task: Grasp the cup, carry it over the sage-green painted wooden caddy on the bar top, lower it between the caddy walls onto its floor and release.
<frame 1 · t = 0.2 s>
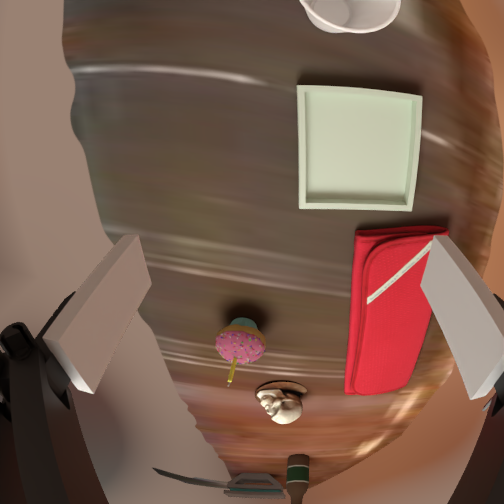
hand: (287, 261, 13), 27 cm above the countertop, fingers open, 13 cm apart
tray: (358, 147, 35), on the countertop
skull: (281, 392, 64), on the countertop
cup: (331, 12, 26), on the countertop
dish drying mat: (387, 323, 51), on the countertop
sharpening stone: (256, 475, 104), on the countertop
beer bottle: (298, 456, 87), on the countertop
cupcake: (243, 325, 53), on the countertop
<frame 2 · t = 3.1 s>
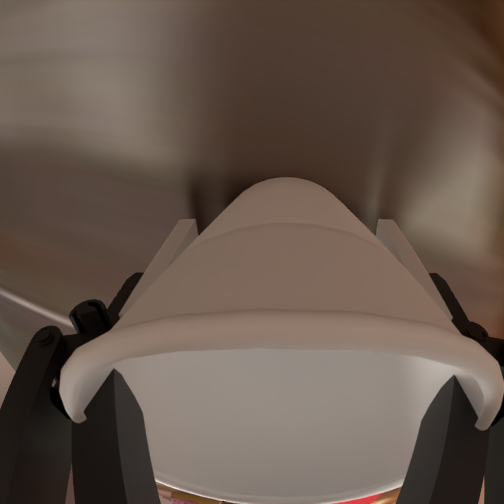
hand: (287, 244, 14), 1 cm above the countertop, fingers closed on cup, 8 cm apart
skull: (246, 503, 52), on the countertop
cup: (286, 233, 15), on the countertop, touching gripper
cupcake: (198, 480, 41), on the countertop
when the fingers open (4 cm above the countertop, at t = 8.6 s): cup drops 2 cm, point 1 cm above the countertop.
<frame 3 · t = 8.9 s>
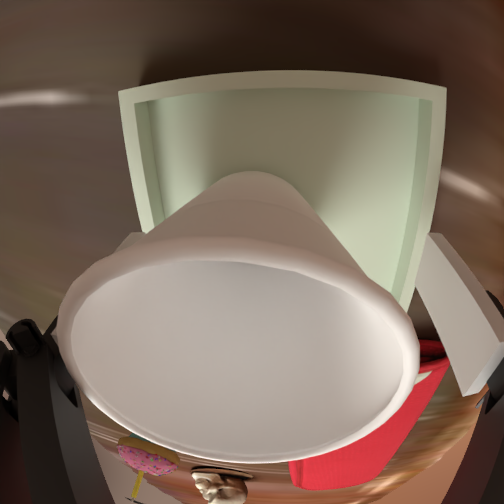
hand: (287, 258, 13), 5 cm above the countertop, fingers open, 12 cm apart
tray: (286, 213, 17), on the countertop
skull: (222, 473, 45), on the countertop
cup: (252, 221, 17), point 1 cm above the countertop, touching gripper
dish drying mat: (344, 436, 33), on the countertop
cupcake: (156, 427, 35), on the countertop
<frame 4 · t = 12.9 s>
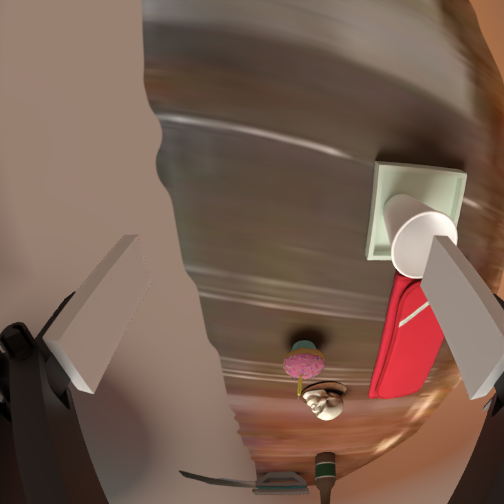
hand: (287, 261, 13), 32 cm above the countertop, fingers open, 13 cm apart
tray: (414, 211, 43), on the countertop
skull: (323, 392, 70), on the countertop
cup: (399, 210, 43), resting on tray
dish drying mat: (410, 340, 59), on the countertop
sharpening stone: (282, 473, 112), on the countertop
beer bottle: (325, 454, 95), on the countertop
cupcake: (303, 346, 61), on the countertop
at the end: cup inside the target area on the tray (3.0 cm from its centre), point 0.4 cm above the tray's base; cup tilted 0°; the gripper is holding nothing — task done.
